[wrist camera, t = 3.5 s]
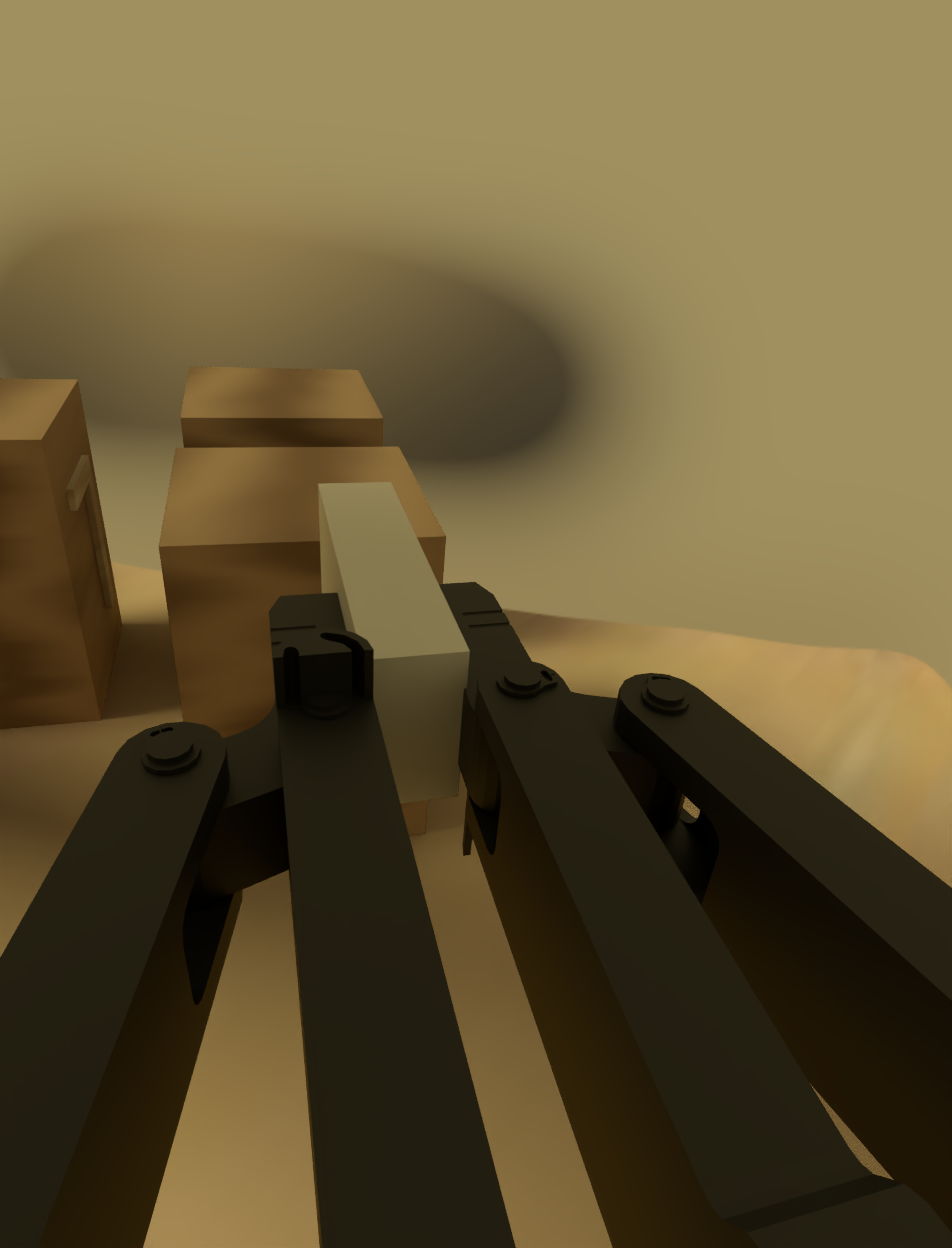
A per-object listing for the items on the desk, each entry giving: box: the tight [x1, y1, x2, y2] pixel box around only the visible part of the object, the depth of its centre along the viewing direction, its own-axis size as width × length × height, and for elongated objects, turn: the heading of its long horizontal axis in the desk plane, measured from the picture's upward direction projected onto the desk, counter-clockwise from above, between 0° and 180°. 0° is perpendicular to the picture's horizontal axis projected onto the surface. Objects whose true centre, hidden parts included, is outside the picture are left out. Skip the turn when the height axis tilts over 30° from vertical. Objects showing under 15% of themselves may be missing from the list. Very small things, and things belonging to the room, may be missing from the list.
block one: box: [181, 367, 383, 448], centre depth 43 cm, size 9×9×14 cm
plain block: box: [159, 447, 446, 836], centre depth 32 cm, size 9×9×14 cm
